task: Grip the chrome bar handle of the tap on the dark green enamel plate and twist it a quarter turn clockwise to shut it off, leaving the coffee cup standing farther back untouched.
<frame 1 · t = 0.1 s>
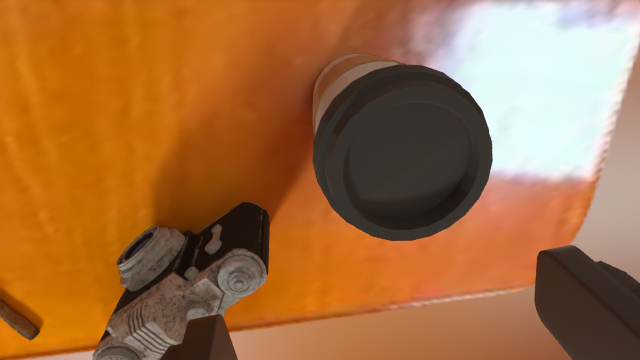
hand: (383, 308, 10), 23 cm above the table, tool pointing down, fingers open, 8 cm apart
camera: (186, 242, 36), on the table
coffee cup: (353, 95, 32), on the table
can opener: (3, 297, 36), on the table
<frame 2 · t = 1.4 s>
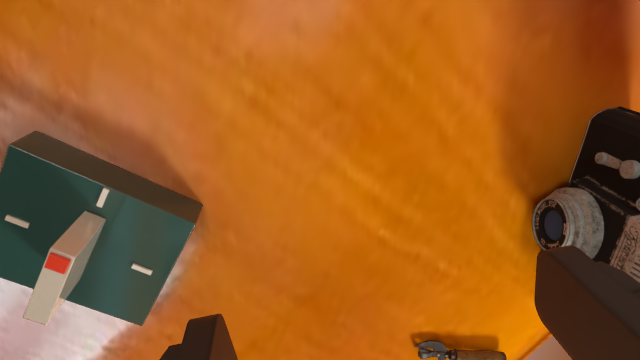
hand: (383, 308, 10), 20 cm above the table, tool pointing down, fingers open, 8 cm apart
tap handle: (65, 266, 26), point 5 cm above the table, hinge at 90.0°
camera: (565, 194, 33), on the table
tap plate: (100, 223, 31), on the table
can opener: (458, 347, 39), on the table
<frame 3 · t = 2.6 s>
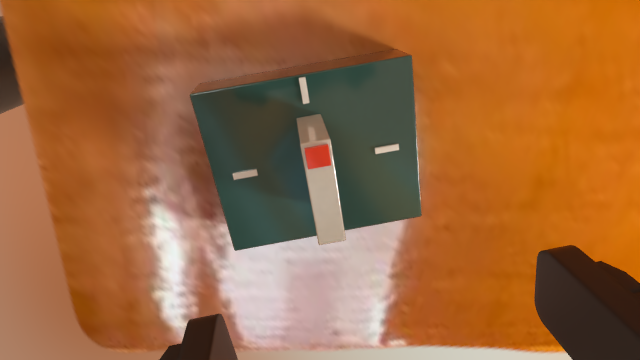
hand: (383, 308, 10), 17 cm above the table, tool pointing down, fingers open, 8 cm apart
tap handle: (320, 177, 22), point 5 cm above the table, hinge at 90.0°
tap plate: (312, 144, 27), on the table
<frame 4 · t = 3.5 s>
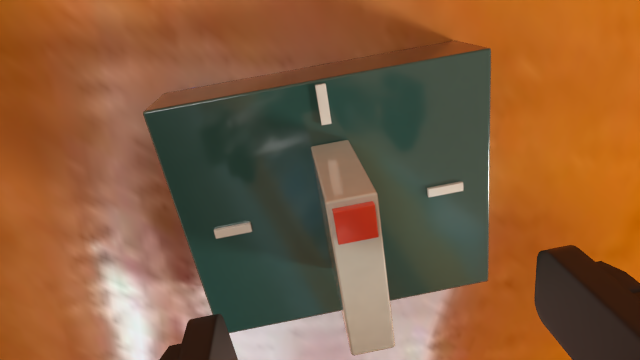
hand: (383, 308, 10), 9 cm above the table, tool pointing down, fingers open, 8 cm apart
tap handle: (350, 242, 14), point 5 cm above the table, hinge at 90.0°
tap plate: (329, 178, 19), on the table
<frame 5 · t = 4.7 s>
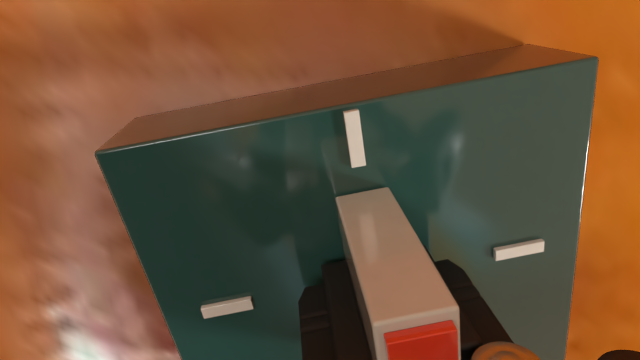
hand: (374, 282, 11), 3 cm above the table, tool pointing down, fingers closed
tap handle: (396, 342, 9), point 5 cm above the table, hinge at 90.0°, touching gripper
tap plate: (355, 223, 14), on the table
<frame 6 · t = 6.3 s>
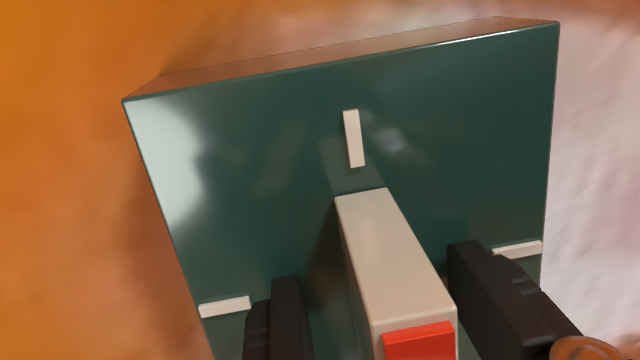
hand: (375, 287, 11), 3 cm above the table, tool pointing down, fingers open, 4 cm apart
tap handle: (393, 342, 9), point 5 cm above the table, hinge at 0.2°
tap plate: (353, 223, 14), on the table
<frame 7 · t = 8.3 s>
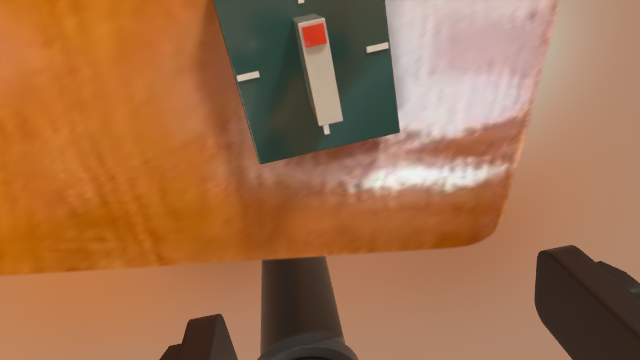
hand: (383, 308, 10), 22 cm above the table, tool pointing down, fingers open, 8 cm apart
tap handle: (317, 68, 24), point 5 cm above the table, hinge at 0.2°
tap plate: (308, 54, 29), on the table
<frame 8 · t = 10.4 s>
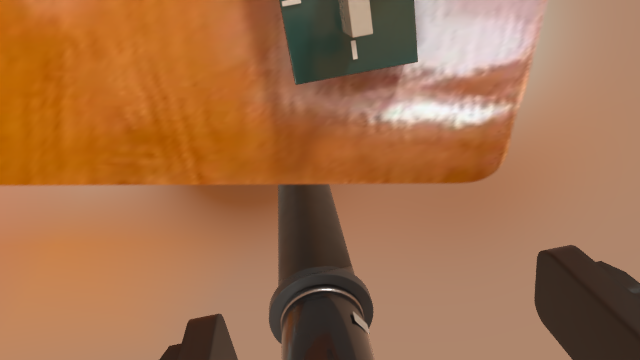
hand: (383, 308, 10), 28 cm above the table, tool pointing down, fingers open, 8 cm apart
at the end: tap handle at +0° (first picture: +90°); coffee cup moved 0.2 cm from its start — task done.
